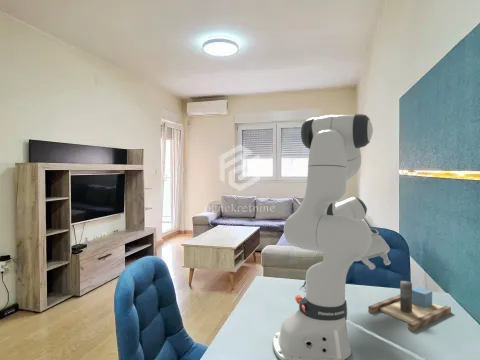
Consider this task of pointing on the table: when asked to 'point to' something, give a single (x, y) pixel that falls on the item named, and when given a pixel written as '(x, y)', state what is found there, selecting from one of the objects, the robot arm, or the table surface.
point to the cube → (421, 297)
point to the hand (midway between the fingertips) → (381, 266)
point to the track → (418, 322)
